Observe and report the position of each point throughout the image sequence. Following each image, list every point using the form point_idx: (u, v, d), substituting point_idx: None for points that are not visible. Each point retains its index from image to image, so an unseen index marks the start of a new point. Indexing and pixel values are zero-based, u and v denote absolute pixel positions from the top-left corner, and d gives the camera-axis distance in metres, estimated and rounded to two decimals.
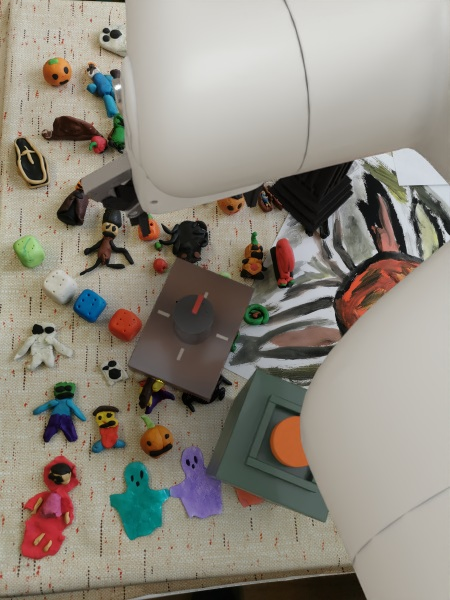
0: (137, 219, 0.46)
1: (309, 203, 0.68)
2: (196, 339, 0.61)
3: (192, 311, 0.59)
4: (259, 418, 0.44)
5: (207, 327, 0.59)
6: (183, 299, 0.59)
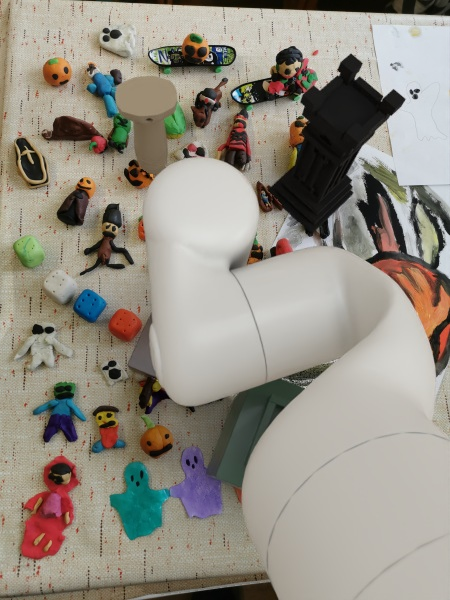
0: None
1: (309, 203, 0.68)
2: None
3: None
4: (259, 418, 0.44)
5: None
6: None
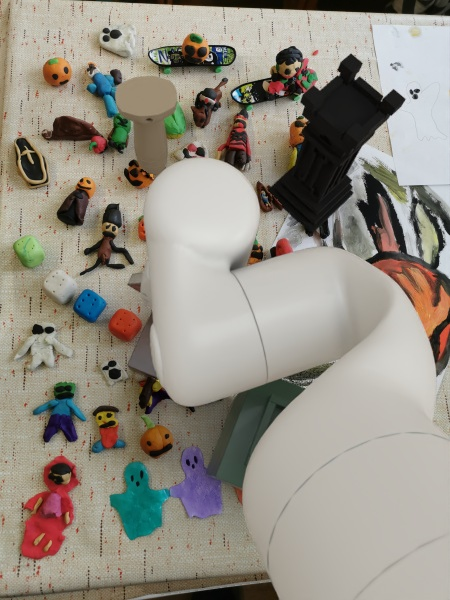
0: None
1: (309, 203, 0.68)
2: None
3: None
4: (259, 418, 0.44)
5: None
6: None
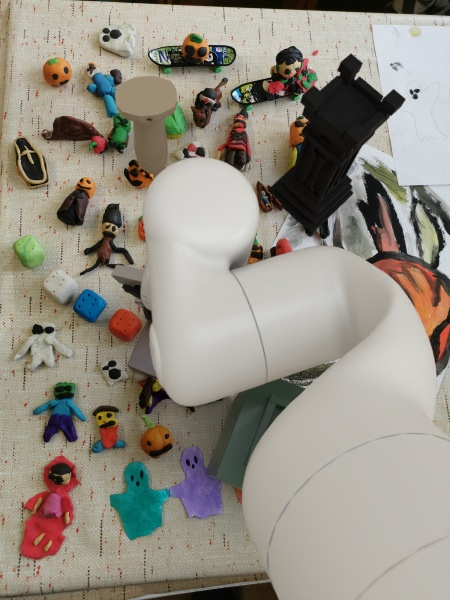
0: None
1: (309, 203, 0.68)
2: None
3: None
4: (259, 418, 0.44)
5: None
6: None
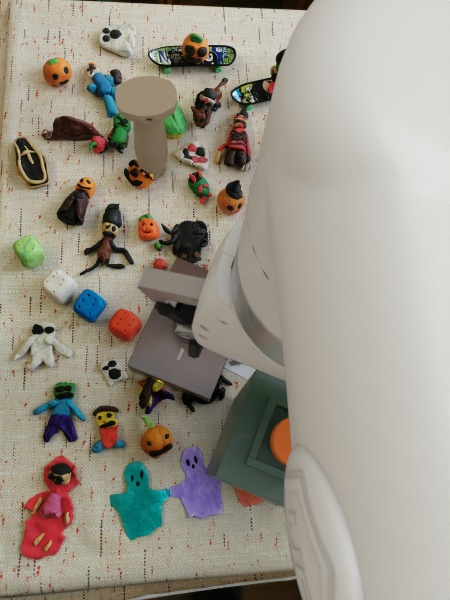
0: None
1: None
2: None
3: None
4: (259, 418, 0.44)
5: None
6: None
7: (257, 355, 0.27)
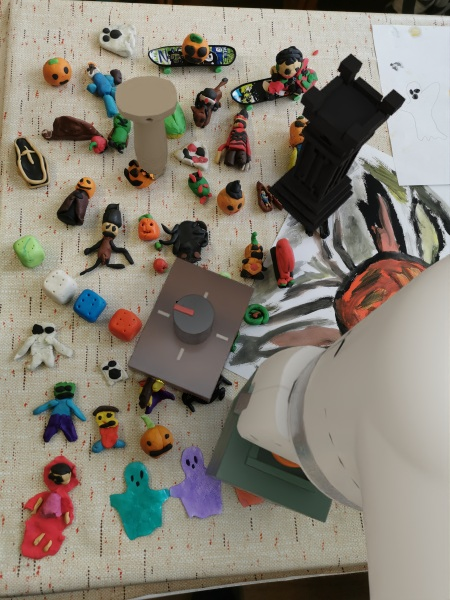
0: None
1: (309, 203, 0.68)
2: None
3: (191, 315, 0.59)
4: None
5: (206, 300, 0.59)
6: (178, 324, 0.58)
7: None
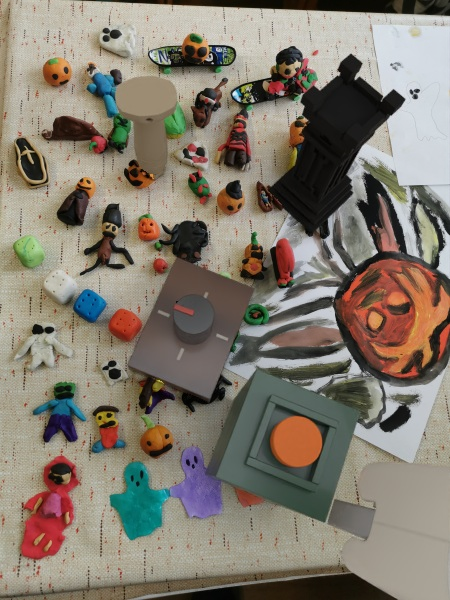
0: None
1: (309, 203, 0.68)
2: None
3: (191, 315, 0.59)
4: (259, 418, 0.44)
5: (206, 300, 0.59)
6: (178, 324, 0.58)
7: None
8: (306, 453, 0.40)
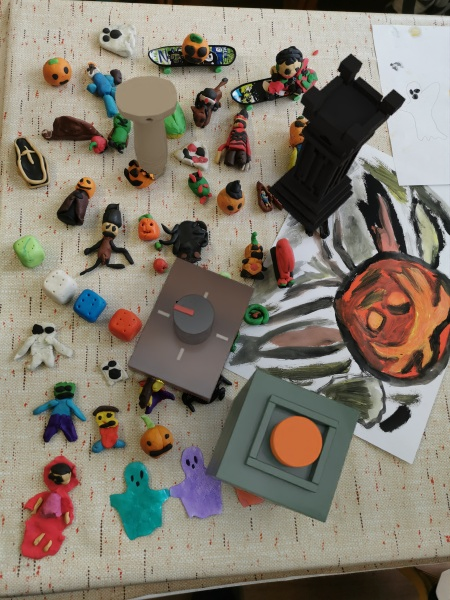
0: None
1: (309, 203, 0.68)
2: None
3: (191, 315, 0.59)
4: (259, 418, 0.44)
5: (206, 300, 0.59)
6: (178, 324, 0.58)
7: None
8: (306, 453, 0.40)
